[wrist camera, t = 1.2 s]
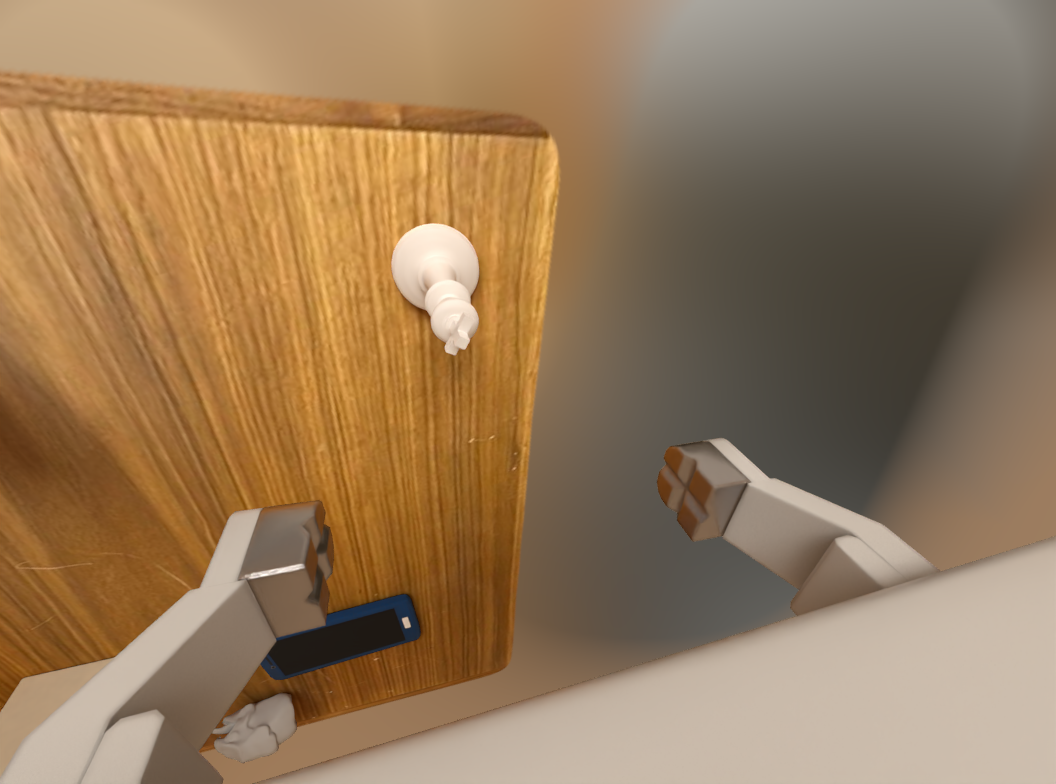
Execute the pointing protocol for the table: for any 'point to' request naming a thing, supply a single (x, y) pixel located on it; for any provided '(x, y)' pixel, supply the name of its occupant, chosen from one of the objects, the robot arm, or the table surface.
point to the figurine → (257, 729)
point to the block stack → (39, 703)
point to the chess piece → (439, 280)
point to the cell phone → (344, 637)
